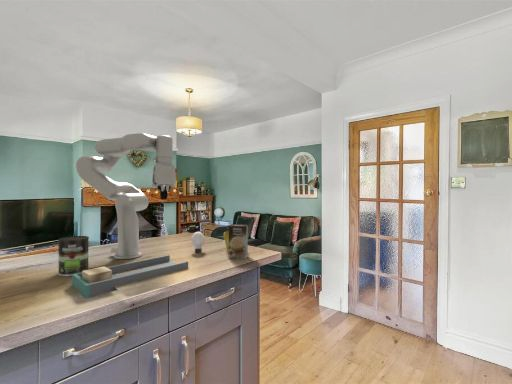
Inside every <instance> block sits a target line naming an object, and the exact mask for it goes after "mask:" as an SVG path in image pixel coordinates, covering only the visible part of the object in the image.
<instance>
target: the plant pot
mask: <svg viewBox="0 0 512 384" xmlns="http://www.w3.org/2000/svg"><path fill="white" fill-rule="evenodd" d="M223 240H224V241H225V247H226V251H227V252H229V231H224V232H223Z"/></svg>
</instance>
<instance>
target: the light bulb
mask: <svg viewBox="0 0 512 384" xmlns="http://www.w3.org/2000/svg"><path fill="white" fill-rule="evenodd" d="M204 243H205V236H204V234H203V232H201V231H196V232H194V233H193V234H192V235H191V245H192V246H193V247H194V253H195V254H200V253H203V252H202V251H203V250H202V247H203V245H204Z"/></svg>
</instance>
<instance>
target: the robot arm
mask: <svg viewBox="0 0 512 384" xmlns="http://www.w3.org/2000/svg"><path fill="white" fill-rule="evenodd" d="M173 147H174V146H173V137H172V136H170V135H167V134H166V135H165V134H160V135H159V134H158V135H157V136H154V135H150V134H147V133H144V132H137V133H128V134H125V135H123V136H122V137H113V138H104V139H100V140H98V141H96V143H95V144H94V149H95V151H96V153H98V155H101V156H97V155H96V156H95V155H83V156H81V157H79V158H77V159H76V162H75V168H76V172H77V175H78V176H79V178H80V179H81V180H82V181H84V183H86V184H87V185H89V186H90V187H92V188H93V189H94V190H96V191H97V192H98V193H99V194H101V195H102V196H104V197H105V198H107V200H110V201H115V202H114V205H115V209H116V210H115V211H116V217H117V247H112V248H111V249H110V253H115V254H114V255H113V256H114V259H115V260H130V259H131V260H132V259H136V258H140V257H142V256H143V252H142V251H140V246H139V245H140V241H139V240H140V237H139V235H140V234H139V230H140V227H139V226H140V225H139V224H140V223H139V221H140V220H139V217H138V214H137V212H141V211H144V210H146V209H147V208H148V206H149V199H148V197H147V195H146V194H145V193H144V192H142V191H141V190H140V189H138V188H137V187H135V186H134V185H133V184H131V183H128V182H126V181H116V180H115V181H114V180H113V179H112V178H110V177H109V176H108V175H106V174H105V173H110V172H111V171H112V169H114V167H115V166H116V165H117V164H118V163H119V161H120V160H121V159H122V157H123V156H124V155H128V154H130V153H131V151H133V150H134V151H135V150H143V151H148V152H151V153H155V157H154V158H153V159H152V161H153V162H155V163H154V164H153V165H154V166H153V170H152V178H151V179H152V187H153V188H156V189H158V191H159V198H160V200H167V199H168V192H169V190H170V189H171V188H176V187H175V186H176V183H177V178H176V168H175V164H173Z"/></svg>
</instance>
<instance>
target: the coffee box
mask: <svg viewBox="0 0 512 384" xmlns="http://www.w3.org/2000/svg"><path fill="white" fill-rule="evenodd" d="M228 232H229V251H228V257H227V258H228V259H239V260H246V259H248V258H247V257H248V250H249V249H248V246H249V245H248V244H249V243H248V242H249V240H248V239H249V224H238V223H237V224H235V223H234V224H233V223H231V224H229V226H228Z"/></svg>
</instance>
